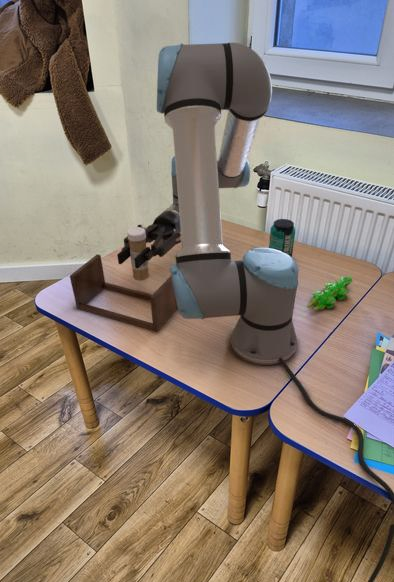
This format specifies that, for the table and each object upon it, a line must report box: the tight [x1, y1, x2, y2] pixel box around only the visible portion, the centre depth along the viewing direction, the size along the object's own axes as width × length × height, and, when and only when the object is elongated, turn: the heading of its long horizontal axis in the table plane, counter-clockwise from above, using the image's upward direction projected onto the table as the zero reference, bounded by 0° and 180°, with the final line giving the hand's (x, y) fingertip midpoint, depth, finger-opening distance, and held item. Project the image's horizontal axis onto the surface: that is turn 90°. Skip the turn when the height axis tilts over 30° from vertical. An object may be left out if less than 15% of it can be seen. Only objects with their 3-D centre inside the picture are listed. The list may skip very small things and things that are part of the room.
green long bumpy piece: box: [306, 275, 353, 311], centre depth 123 cm, size 7×18×4 cm, turn 134°
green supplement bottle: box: [268, 218, 296, 258], centre depth 137 cm, size 7×7×12 cm
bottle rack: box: [69, 253, 178, 333], centre depth 120 cm, size 12×24×10 cm, turn 65°
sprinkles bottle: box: [126, 226, 151, 281], centre depth 121 cm, size 5×5×14 cm
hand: (127, 261), depth 117 cm, fingers closed on sprinkles bottle, 4 cm apart
